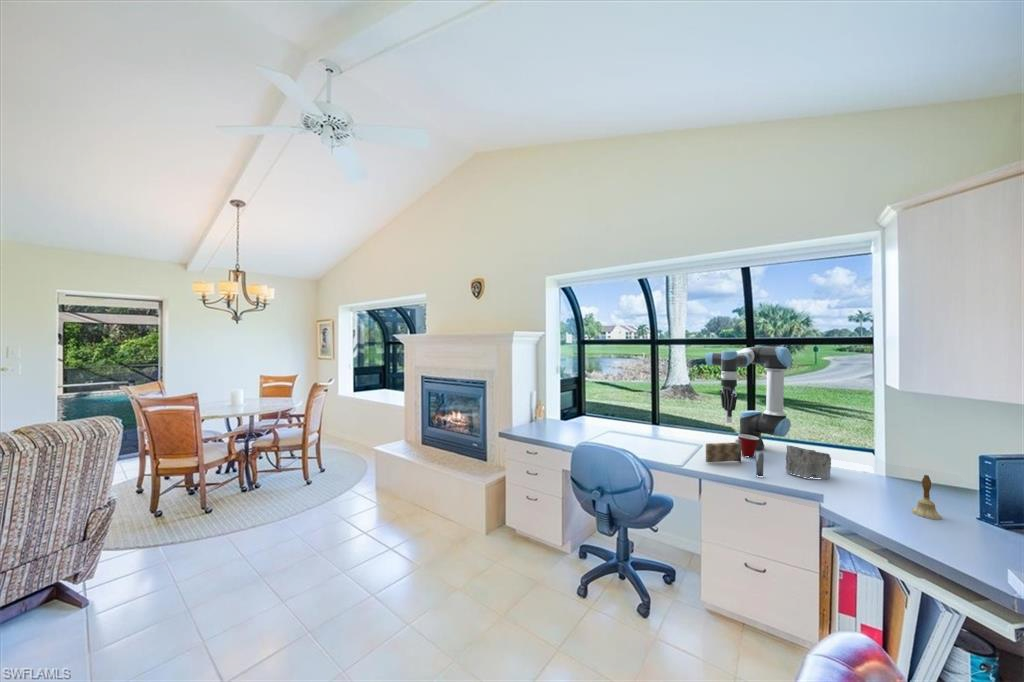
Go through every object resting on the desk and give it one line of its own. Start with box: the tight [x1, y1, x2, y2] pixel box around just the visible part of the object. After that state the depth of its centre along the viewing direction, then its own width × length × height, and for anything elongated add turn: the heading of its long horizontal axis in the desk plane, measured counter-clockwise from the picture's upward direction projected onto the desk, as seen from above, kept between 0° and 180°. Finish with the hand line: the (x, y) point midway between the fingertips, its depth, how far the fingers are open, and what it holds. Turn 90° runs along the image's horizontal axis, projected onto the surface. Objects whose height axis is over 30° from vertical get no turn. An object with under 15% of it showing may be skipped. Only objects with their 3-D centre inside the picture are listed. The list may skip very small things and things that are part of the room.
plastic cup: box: [738, 433, 759, 458], centre depth 228 cm, size 11×11×12 cm
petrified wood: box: [785, 444, 832, 480], centre depth 198 cm, size 19×17×15 cm
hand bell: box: [911, 474, 942, 521], centre depth 154 cm, size 8×8×16 cm
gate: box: [705, 441, 739, 463], centre depth 215 cm, size 20×1×10 cm, turn 98°
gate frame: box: [734, 438, 765, 477], centre depth 208 cm, size 27×17×12 cm, turn 172°
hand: (728, 422), depth 209 cm, fingers closed
